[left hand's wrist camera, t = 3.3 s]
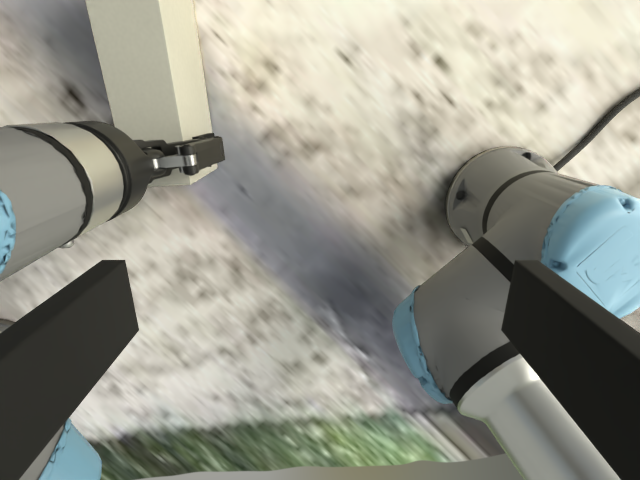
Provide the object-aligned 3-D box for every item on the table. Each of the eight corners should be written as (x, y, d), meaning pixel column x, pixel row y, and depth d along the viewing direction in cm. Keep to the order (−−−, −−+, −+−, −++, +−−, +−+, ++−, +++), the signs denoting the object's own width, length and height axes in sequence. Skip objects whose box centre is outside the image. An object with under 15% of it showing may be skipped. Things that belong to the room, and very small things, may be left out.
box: (130, -27, 44) (68, -71, 33) (188, -31, 43) (145, -76, 33) (168, 170, 51) (128, 188, 41) (217, 168, 51) (190, 184, 40)
